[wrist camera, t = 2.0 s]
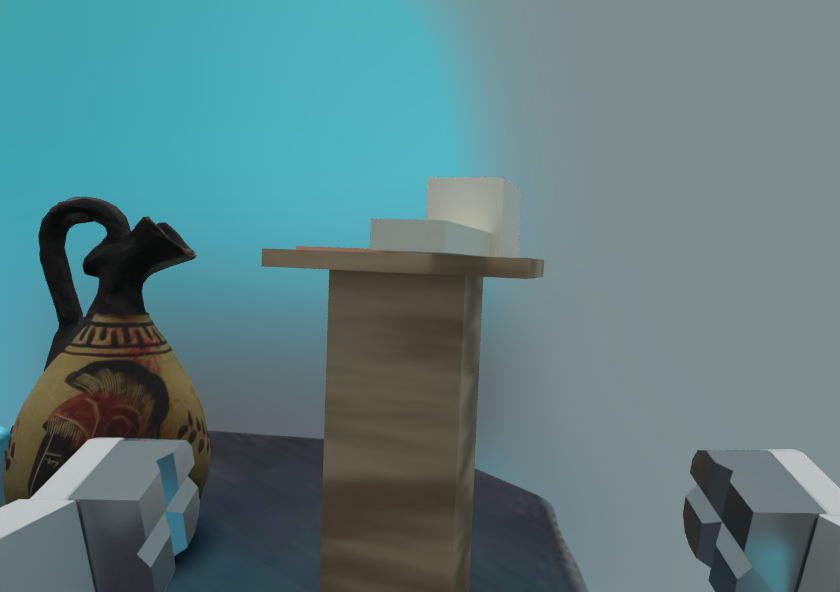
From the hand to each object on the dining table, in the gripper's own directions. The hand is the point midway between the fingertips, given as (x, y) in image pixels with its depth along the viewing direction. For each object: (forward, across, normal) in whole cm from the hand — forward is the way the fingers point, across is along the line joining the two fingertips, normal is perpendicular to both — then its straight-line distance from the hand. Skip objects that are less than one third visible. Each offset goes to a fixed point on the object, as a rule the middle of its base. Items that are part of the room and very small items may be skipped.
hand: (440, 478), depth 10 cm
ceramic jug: (+32, -28, -32) cm, 53 cm away
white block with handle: (+20, +1, -2) cm, 20 cm away
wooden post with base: (+18, -2, -28) cm, 34 cm away
